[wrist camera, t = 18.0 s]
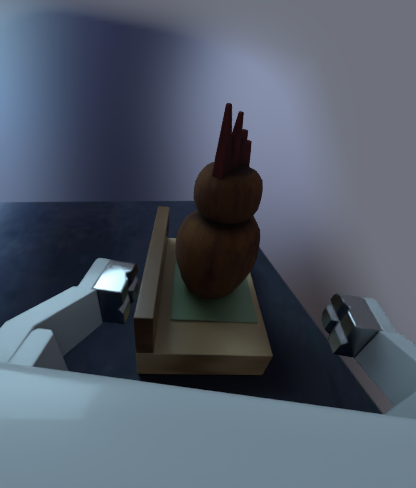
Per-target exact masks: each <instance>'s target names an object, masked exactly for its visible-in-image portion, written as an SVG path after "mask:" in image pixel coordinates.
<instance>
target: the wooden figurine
mask: <svg viewBox="0 0 416 488" xmlns="http://www.w3.org/2000/svg"><path fill="white" fill-rule="evenodd" d="M243 115H244V113H243V112H241V111H240V112H239V113H238V117H237V120H236V123H235V126H234V129H233V132H232V104H230V103H227V104H226V107H225V112H224V117H223V122H222V127H221V132H220V137H219V142H218V147H217V152H216V157H215V162H212V163H210V164H208V165H207V166H206V167H205V168H203V169H202V171H201V172H200V173H199V175H198V177H197V180H196V181H195V187H194V202H195V205H196V207H197V210H196V211H194V212H192V213H191V214H190V215H188V216H187V217H186V218H185V220H184V221H183V222H182V224H181V226H180V228H179V230H178V232H177V237H176V242H175V255H176V261H177V265H178V267H179V270H180V274H181V278H182V280H183V282H184V283H185V285H186V287H187V288H188V290H189V291H190V292H192V293H193V294H195V295H197V296H199V297H203V298H206V299H214V298H221V297H224V296H227V295H229V294H230V293H232V292H233V291H234V290H235V289H236V288H237V287H238V286H239V285H240V284H241V283H242V282H243V281H244V280H245V278H246V277H247V276H248V275H249V273H250V272H251V270H252V268H253V267H254V264H255V261H256V258H257V255H258V249H259V243H260V229H259V227H258V224H257V222H256V220H255V218H254V216H253V215H254V214H255V212H256V211H257V210H258V207H259V204H260V201H261V197H262V190H263V186H262V179H261V177H260V175H259V174H258V173H257V171H255V170H254V169H252V168H250V167H249V163H250V153H251V141H249V140H247V136H248V130H245V129H242V125H243Z"/></svg>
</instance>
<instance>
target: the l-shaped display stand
mask: <svg viewBox="0 0 416 488" xmlns="http://www.w3.org/2000/svg"><path fill="white" fill-rule="evenodd" d="M169 210H170V208H169V207H162V206H158V209H157V214H156V219H155V223H154V228H153V232H152V237H151V241H150V246H149V250H148V255H147V259H146V264H145V268H144V273H143V277H142V282H141V286H140V291H139V296H138V300H137V305H136V309H135V314H134V331H135V345H136V359H137V373H138V374H204V375H263V373H264V371H265V369H266V368H267V366H268V364H269V362H270V360H271V359H272V357H273V355H272V351H271V348H270V344H269V340H268V337H267V333H266V329H265V326H264V322H263V318H262V315H261V311H260V307H259V304H258V300H257V296H256V293H255V289H254V285H253V282H252V278H251V274H250V273H249V275H248V276H247V277H246V278H245V280H244V281H243V282H242V283H241V284H240V285H239V286H238V287H237V288H236V289H235V290H234V291H233V292H232V293H230V294H229V295H227V296H224V297H221V298H214V299H206V298H203V297H199V296H197V295H195V294H193V293H192V292H190V291H189V290H188V288H187V287H186V285H185V283H184V282H183V280H182V278H181V274H180V270H179V267H178V265H177V261H176V255H175V242H176V238H168V230H169Z"/></svg>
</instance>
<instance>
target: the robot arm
mask: <svg viewBox="0 0 416 488" xmlns="http://www.w3.org/2000/svg"><path fill="white" fill-rule="evenodd" d="M137 272H138V268H137V264H134V263H128V262H122V261H116V260H109V259H103V258H98V259H97V260H95V262H94V263H93V265H92V266H91V268H90V269H89V271H88V272H87V274H86V275H85V277H84V278H83V279H82V281H81V282H80V284H79V285H78V287H75V286H73V287H71V288H69V289H68V290H66V291H64V292H62V293H60V294H58V295H56V296H54V297H52V298H50V299H49V300H47V301H45V302H43V303H41V304H39V305H37V306H35V307H33V308H32V309H30V310H28V311H26V312H24V313H22V314H20V315H18V316H16V317H14V318H13V319H11V320H9V321H7V322H5V323H4V324H3V326H2V327H1V328H0V488H416V345H415V344H413V343H412V342H411V341H410V340H408V339H407V338H406V337H404V336H403V335H402V334H398V333H397V332H396V330H395V329H394V327H393V326H392V324H391V322H390V321H389V319H388V318H387V316H386V314H385V313H384V311H383V310H382V308H381V306H380V305H379V303H378V302H377V301H376V300H375V299H373V298H366V297H357V296H351V295H343V294H335V295H333V297H332V298H331V302H332V304H330V305H328V306H326V308H325V309H324V311H323V314H322V323H323V326H324V329H325V330H326V331H327V332H328V333H329V334H330V335H329V337H328V341H329V343H330V346H331V349H332V352H333V354H336V355H342V356H348V357H354V359H355V360H356V361H357V363H358V364H359V365H360V366H361V367H362V368H363V370H364V371H365V372H366V373H367V374H368V375H369V376H370V378H371V379H372V380H373V381H374V382H375V383H376V385H377V386H378V387H379V388H380V389H381V391H382V392H383V393H384V394H385V395H386V396H387V398H388V399H389V400H390V401H391V402H392V403H393V404H394V406H395V407H393V408H392V409H390V410H389V411H387V412H386V414H385V415H383V414H376V413H369V412H361V411H354V410H347V409H340V408H332V407H325V406H318V405H311V404H303V403H296V402H289V401H282V400H274V399H267V398H260V397H252V396H245V395H238V394H230V393H223V392H216V391H208V390H201V389H194V388H186V387H179V386H172V385H165V384H157V383H150V382H143V381H135V380H128V379H121V378H113V377H106V376H99V375H91V374H84V373H77V372H70V371H68V369H67V367H66V364H65V362H64V359H63V357H62V356H64V355H65V354H66V353H67V352H68V351H70V350H71V349H72V348H73V347H74V346H76V345H77V344H78V343H79V342H80V341H82V340H83V339H84V338H85V337H86V336H88V335H89V334H90V333H91V332H92V331H94V330H95V329H96V328H97V327H98V326H100V325H101V324H102V323H103V322H110V323H118V324H125V322H126V320H127V317H128V315H129V312H130V304H131V303H132V302H134V300H135V297H136V294H137V290H138V278H137V277H136V274H137Z"/></svg>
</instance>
